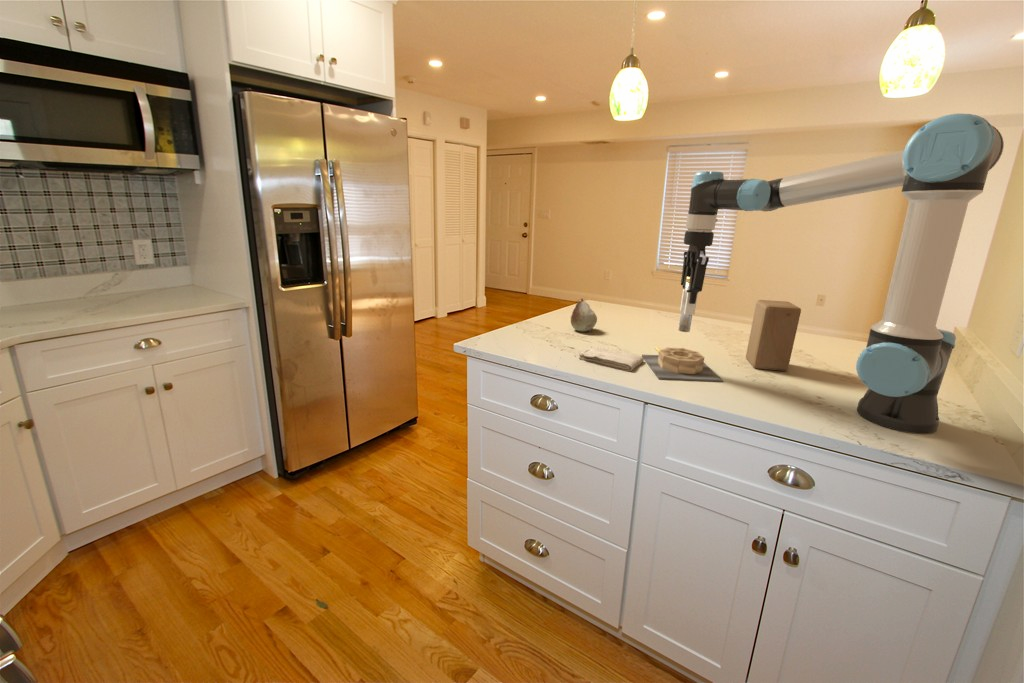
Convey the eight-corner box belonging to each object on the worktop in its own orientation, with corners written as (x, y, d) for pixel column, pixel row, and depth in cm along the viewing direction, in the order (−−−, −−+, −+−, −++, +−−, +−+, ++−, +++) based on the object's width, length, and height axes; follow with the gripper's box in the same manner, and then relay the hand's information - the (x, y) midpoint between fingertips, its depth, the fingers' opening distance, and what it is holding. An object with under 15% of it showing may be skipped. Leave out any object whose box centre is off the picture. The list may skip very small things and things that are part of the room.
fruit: (582, 325, 184) (585, 296, 180) (601, 331, 177) (604, 300, 173) (565, 329, 177) (567, 299, 174) (583, 335, 171) (586, 303, 167)
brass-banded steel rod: (691, 332, 135) (700, 278, 130) (680, 331, 135) (688, 277, 130) (687, 329, 138) (696, 276, 133) (676, 328, 138) (684, 275, 133)
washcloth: (592, 351, 154) (592, 342, 153) (644, 363, 145) (645, 353, 144) (576, 360, 145) (577, 351, 144) (631, 373, 135) (632, 364, 134)
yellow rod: (663, 356, 150) (664, 353, 150) (661, 356, 150) (661, 353, 150) (656, 348, 158) (657, 345, 158) (654, 348, 158) (654, 345, 158)
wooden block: (788, 372, 139) (803, 308, 133) (753, 369, 141) (766, 305, 135) (777, 361, 148) (790, 301, 143) (744, 358, 150) (755, 298, 144)
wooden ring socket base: (722, 381, 130) (725, 366, 128) (658, 379, 130) (660, 364, 129) (697, 358, 149) (699, 345, 148) (641, 356, 149) (643, 342, 148)
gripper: (725, 233, 120) (710, 320, 127) (702, 229, 135) (690, 306, 142) (696, 232, 120) (683, 319, 127) (677, 228, 135) (666, 305, 142)
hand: (686, 312), depth 135 cm, fingers closed on brass-banded steel rod, 3 cm apart
